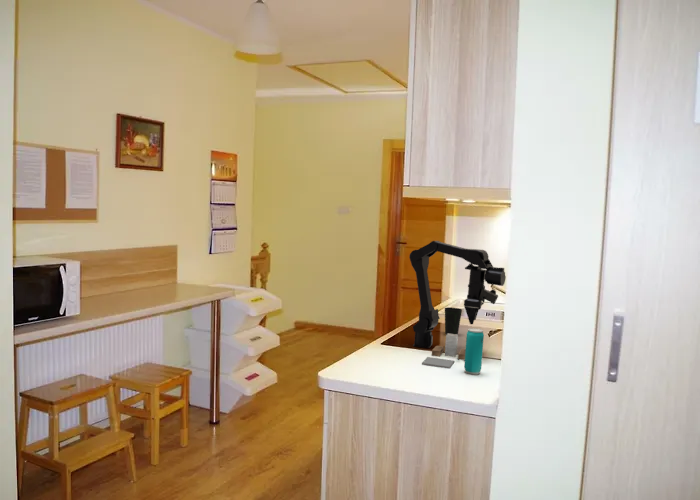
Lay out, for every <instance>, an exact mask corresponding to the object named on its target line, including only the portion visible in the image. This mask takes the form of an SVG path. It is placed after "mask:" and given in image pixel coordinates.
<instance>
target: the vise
mask: <svg viewBox="0 0 700 500" xmlns="http://www.w3.org/2000/svg"><path fill="white" fill-rule="evenodd" d="M465 350H466V348H465V349H464V348H461V350H459V352H458V353H457V359H458V360H462V361H463V360H464V361H465ZM443 353H445V345H444V346H442V345H436V346H434V348H433V349H432V350H431V356H433V357H440V356H441V355H442V354H443Z"/></svg>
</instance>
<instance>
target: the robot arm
mask: <svg viewBox="0 0 700 500" xmlns="http://www.w3.org/2000/svg"><path fill="white" fill-rule="evenodd" d="M437 252H438V253H443V254H446V255H449V256H453V257H456V258H461V259H463V260H464V261H466V262H468V265H467V266H465V267H464V269H465V270H469V279H468V284H467V288H468V289H467V296H466V298H465V299H464V300H463V301H464V302H463V306H464V309H465V313H466V315H467V319H468V322H469V325H474V322H475V321H476V319H477V316H478V314H479V313H478V312H479V311H480V310H481V309H482V306H483V305H484V304H485V302H486V301H487V302H490V304H493V305H495V303H496V301H497V300H498V298H499V295H498V294H497V290H495V289H491V290H487V289H486V286H485V282H486V283H487V285H492V286H493V285H494V286H501V287H503V286H504V285H505V283H506V272H505V267H496V266H494V265H493V264H492V262H491V260H490V259H489V254H488V252H487V251H486V250H484V249H477V248H476V249H475V248H464V247H462V246H461V247H460V246H457V245H454V244H453V245H452V244H451V243H450V244H449V243H446V242H442V241H440V240H432V241H430V242H429V243H428V244H426V245H423V246H422V247H420V248H419V249H418V248H417V249H414V250H412V251H411V253H409V260H410V264H411V267H412V269H413V271H414V272H415V275H416V276H415V277H416V283H417V290H418V297H419V302H420V303H419V304H420V309H419V313H418V322H416V323H415V324H414V325H413V326H412V328H413V332H414V344H412V346H413V347H417V348H423V349H429V348H431V346H433V337H434V335H433V332H432V331H434V329H435V328H436V327H437V325H438V324H439V320H440V315H439V309H438V308H437V309H435V308H434V306H433V300H432V294H431V288H430V281H429V275H428V274H429V273H428V269H429V266H430V258H431V257H433V256H434V255H435V254H436V253H437Z"/></svg>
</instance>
